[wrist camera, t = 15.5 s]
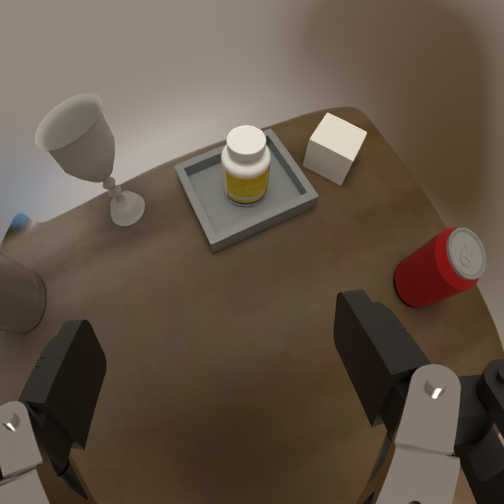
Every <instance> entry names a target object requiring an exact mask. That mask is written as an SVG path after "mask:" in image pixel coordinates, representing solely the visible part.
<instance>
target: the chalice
mask: <svg viewBox="0 0 504 504" xmlns="http://www.w3.org/2000/svg"><path fill="white" fill-rule="evenodd" d="M102 107H103V103H102V100H101V98H100V97H99V96H97V95H96V94H90V93H87V94H80V95H77V96H74V97H71V98H69V99H67V100H65V101H64V102H62V103H60V104H59V105H57V106H56V107H55V108H54V109H53V110H51V111H50V112H49V113H48V114H47V115H46V117H45V118H44V119H43V120H42V122H41V124H40V125H39V127H38V128H37V131H36V135H35V143H36V145H37V146H38V148H39V149H42V150H45V151H49V152H50V154H51V155H52V156H53V158H54V159H55V160H56V161H57V162H58V164H59V165H60V166H61V167H62V169H63V170H64V171H65V172H66V173H68V174H70V175H72V176H74V177H77V178H79V179H82V180H86V181H91V182H102V181H103V187H104V188H105V189H109V191H108V195H109V196H110V197H114V198H113V199H112V201H111V205H110V208H111V218H112V220H113V221H114V223H115V224H117V225H119V226H129V225H132V224H134V223H136V222H137V221H138V220H139V219H140V218H141V216H142V215H143V213H144V209H145V202H144V200H143V198H142V197H141V196H140V195H138V194H136V193H133V192H130V191H122V192H121V187H120V186H119V185H115V179H114V178H111V177H110V175H111V173H112V170H113V163H114V155H115V144H114V137H113V134H112V132H111V130H110V128H109V126H108V124H107V122H106V120H105V118H104V116H103V114H102Z"/></svg>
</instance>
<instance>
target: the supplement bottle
mask: <svg viewBox="0 0 504 504" xmlns="http://www.w3.org/2000/svg"><path fill="white" fill-rule="evenodd" d="M226 142H227V144H226V146H225V147H224V149H223V151H222V154H221V163H222V173H223V183H224V191H225V194H226V196H227V198H228V199H229V200H230V201H231V202H233V203H234V204H236V205H239V206H252V205H255V204H257V203H258V202H260V201H261V200H262V199H263V198H264V196H265V194H266V192H267V186H268V178H269V170H270V163H271V155H270V151H269V149H268V147H267V146H266V137H265V135H264V133H263V132H262V131H261V130H260V129H258V128H256V127H253V126H239V127H237V128H234V129H233V130H232V131H231V132H230V133H229V134H228V136H227V140H226Z"/></svg>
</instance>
